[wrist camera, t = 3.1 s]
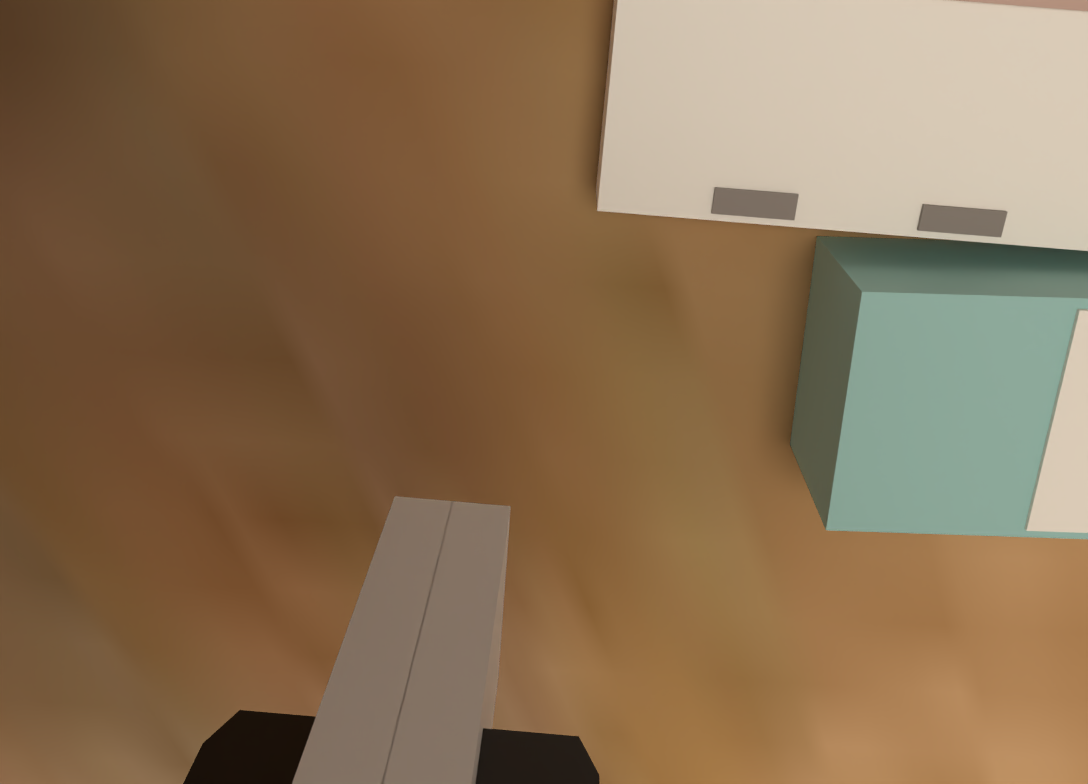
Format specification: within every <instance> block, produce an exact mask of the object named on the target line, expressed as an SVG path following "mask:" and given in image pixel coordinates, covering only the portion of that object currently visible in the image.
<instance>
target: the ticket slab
mask: <svg viewBox="0 0 1088 784" xmlns="http://www.w3.org/2000/svg"><path fill="white" fill-rule="evenodd" d="M596 197H597V211H605V212H618V213H630V214H642V215H654V216H666V217H679V218H691V219H703V220H715V221H727V222H740V223H752V224H764V225H776V226H788V227H801V228H813V229H825V230H837V231H849V232H862V233H874V234H886V235H898V236H910V237H923V238H935V239H947V240H959V241H971V242H983V243H996V244H1008V245H1020V246H1032V247H1044V248H1057V249H1069V250H1081V251H1088V0H614V5H613V16H612V26H611V37H610V47H609V57H608V68H607V78H606V89H605V99H604V110H603V120H602V131H601V141H600V152H599V162H598V173H597V183H596Z"/></svg>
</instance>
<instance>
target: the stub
mask: <svg viewBox="0 0 1088 784" xmlns="http://www.w3.org/2000/svg"><path fill="white" fill-rule="evenodd" d="M790 446H791V448H792V450H793V453H794V455H795V458H796V460H797V462H798V465H799V467H800V470H801V472H802V474H803V477H804V479H805V481H806V484H807V486H808V489H809V491H810V493H811V496H812V498H813V500H814V503H815V505H816V508H817V510H818V512H819V515H820V517H821V519H822V522H823V524H824V527H825V529H826V530H834V531H863V532H893V533H922V534H951V535H981V536H1010V537H1040V538H1069V539H1088V251H1081V250H1069V249H1057V248H1044V247H1032V246H1020V245H1008V244H996V243H983V242H971V241H959V240H932V239H898V238H864V237H830V236H817V240H816V247H815V255H814V263H813V271H812V278H811V286H810V294H809V302H808V309H807V317H806V325H805V332H804V340H803V348H802V356H801V363H800V371H799V379H798V386H797V394H796V402H795V410H794V417H793V425H792V433H791V440H790Z"/></svg>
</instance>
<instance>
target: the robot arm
mask: <svg viewBox="0 0 1088 784" xmlns="http://www.w3.org/2000/svg"><path fill="white" fill-rule="evenodd" d="M510 508H511V506H503V505H491V504H479V503H468V502H456V501H444V500H433V499H421V498H409V497H398V496H395V497H394V500H393V503H392V505H391V508H390V511H389V514H388V517H387V519H386V522H385V525H384V528H383V530H382V533H381V536H380V539H379V542H378V544H377V547H376V550H375V553H374V556H373V558H372V561H371V564H370V567H369V570H368V572H367V575H366V578H365V581H364V584H363V586H362V589H361V592H360V595H359V598H358V600H357V603H356V606H355V609H354V612H353V614H352V617H351V620H350V623H349V626H348V628H347V631H346V634H345V637H344V640H343V642H342V645H341V648H340V651H339V654H338V656H337V659H336V662H335V665H334V667H333V670H332V673H331V676H330V679H329V681H328V684H327V687H326V690H325V693H324V695H323V698H322V701H321V704H320V707H319V709H318V712H317V715H316V717H313V716H301V715H290V714H278V713H267V712H255V711H244V710H239V711H238V712H237V713H236V714H235V715H234V716H233V717H232V718H231V719H230V720H228V721H227V722H226V723H225V724H224V725H223V726H222V727H221V728H220V729H218V730H217V731H216V732H215V733H214V734H213V735H212V736H211V737H210V738H208V739H207V740H206V741H205V742H204V743H203V744H202V746H201V748H200V750H199V752H198V754H197V757H196V759H195V761H194V763H193V765H192V767H191V769H190V771H189V773H188V775H187V777H186V779H185V781H184V783H183V784H599V774H598V772H597V770H596V768H595V766H594V764H593V762H592V761H591V759H590V757H589V755H588V753H587V751H586V749H585V747H584V746H583V744H582V742H581V740H580V738H579V737H578V736H566V735H555V734H543V733H532V732H520V731H509V730H498V729H492V725H493V717H494V709H495V701H496V693H497V685H498V676H499V662H500V648H501V634H502V620H503V606H504V592H505V578H506V564H507V550H508V536H509V522H510Z"/></svg>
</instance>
